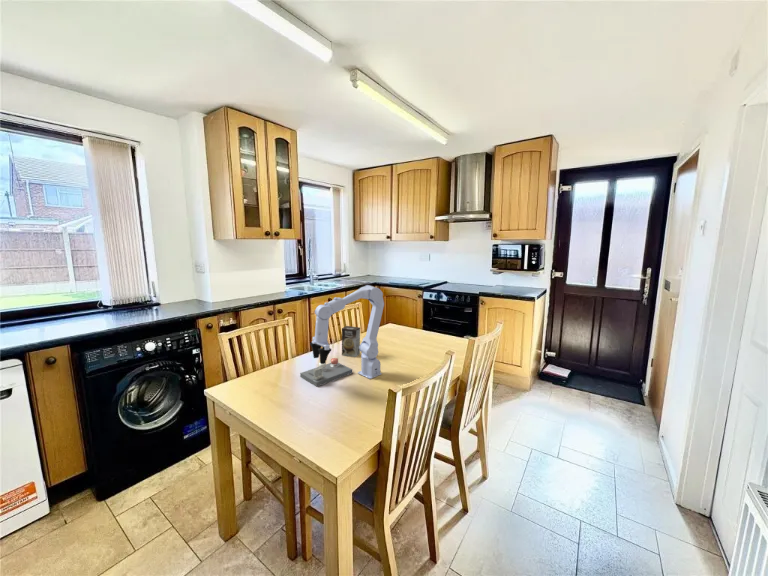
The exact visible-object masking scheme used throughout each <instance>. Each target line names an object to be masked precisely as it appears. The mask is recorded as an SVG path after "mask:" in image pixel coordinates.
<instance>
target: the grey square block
mask: <svg viewBox="0 0 768 576" xmlns="http://www.w3.org/2000/svg"><path fill="white" fill-rule="evenodd" d="M321 378H324V376H323V368H318V369H315V370H314V376H313V379H315V380H319V379H321Z"/></svg>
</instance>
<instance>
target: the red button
mask: <svg viewBox="0 0 768 576" xmlns="http://www.w3.org/2000/svg"><path fill="white" fill-rule="evenodd" d="M330 363H331V364H338V363H339V358H338V357H333V358H330Z"/></svg>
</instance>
